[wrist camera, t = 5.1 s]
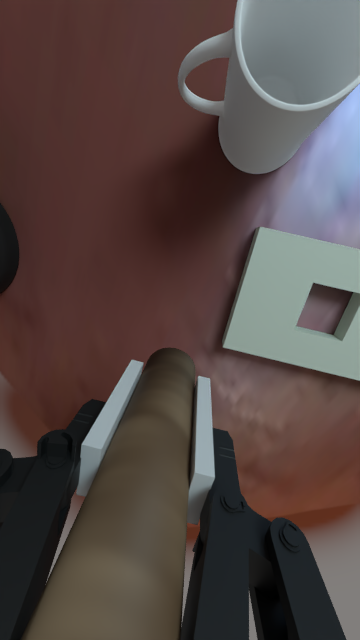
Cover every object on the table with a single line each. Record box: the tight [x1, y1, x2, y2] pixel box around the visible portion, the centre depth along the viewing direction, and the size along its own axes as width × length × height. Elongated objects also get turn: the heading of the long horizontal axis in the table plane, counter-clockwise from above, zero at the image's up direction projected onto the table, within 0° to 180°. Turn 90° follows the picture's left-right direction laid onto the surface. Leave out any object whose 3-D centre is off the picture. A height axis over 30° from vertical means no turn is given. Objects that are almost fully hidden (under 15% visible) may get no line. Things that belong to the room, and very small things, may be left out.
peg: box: [21, 348, 195, 640], centre depth 11 cm, size 4×4×14 cm
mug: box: [178, 0, 360, 174], centre depth 18 cm, size 12×8×12 cm
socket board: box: [222, 227, 360, 381], centre depth 27 cm, size 20×14×2 cm
